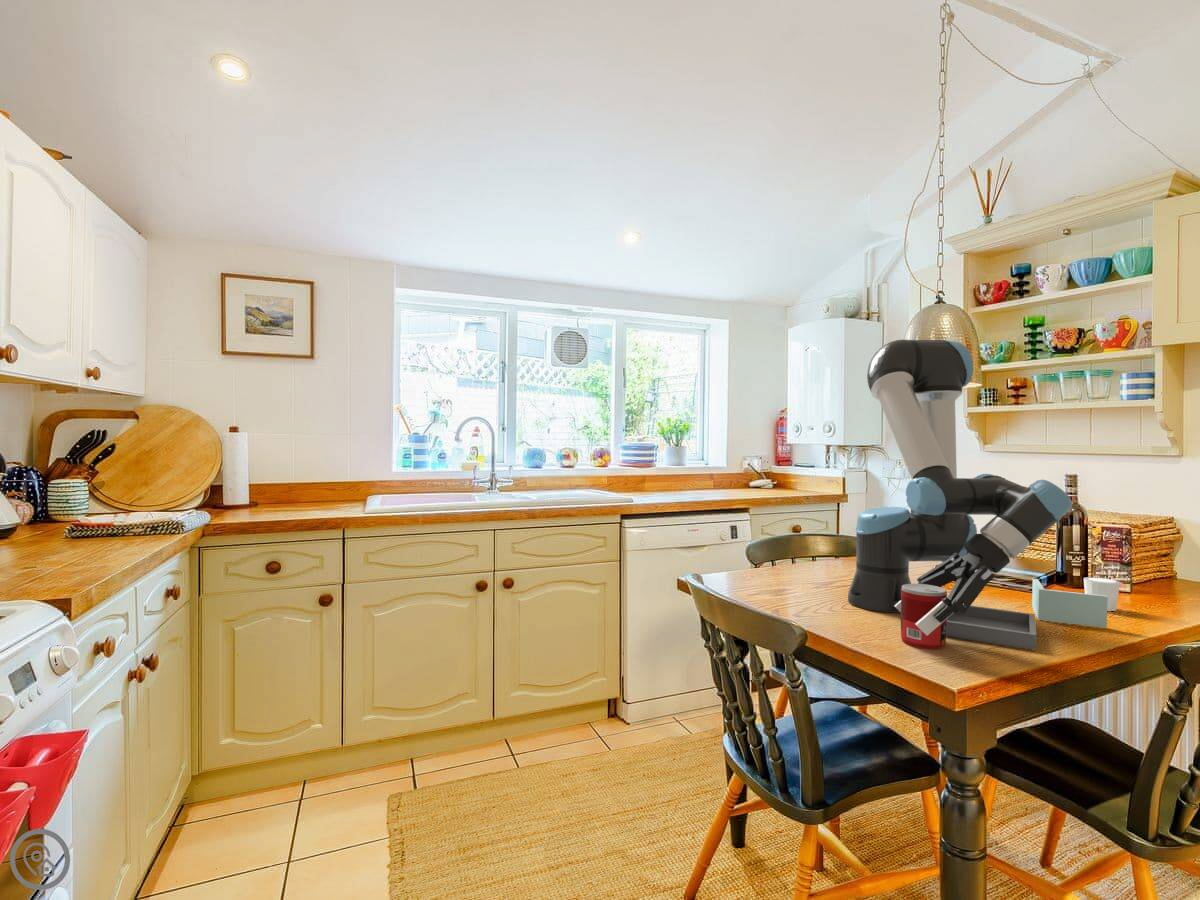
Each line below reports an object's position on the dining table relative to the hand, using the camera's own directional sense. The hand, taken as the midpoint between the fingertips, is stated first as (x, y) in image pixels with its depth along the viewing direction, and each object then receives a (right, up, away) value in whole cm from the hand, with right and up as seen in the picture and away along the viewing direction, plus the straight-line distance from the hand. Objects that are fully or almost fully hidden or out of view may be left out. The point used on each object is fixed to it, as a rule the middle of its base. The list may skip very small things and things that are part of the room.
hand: (909, 620), depth 123 cm
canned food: (+3, -5, 0) cm, 5 cm away
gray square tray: (+20, -4, +7) cm, 21 cm away
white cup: (+58, -4, +25) cm, 63 cm away
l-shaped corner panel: (+45, -5, +18) cm, 48 cm away
